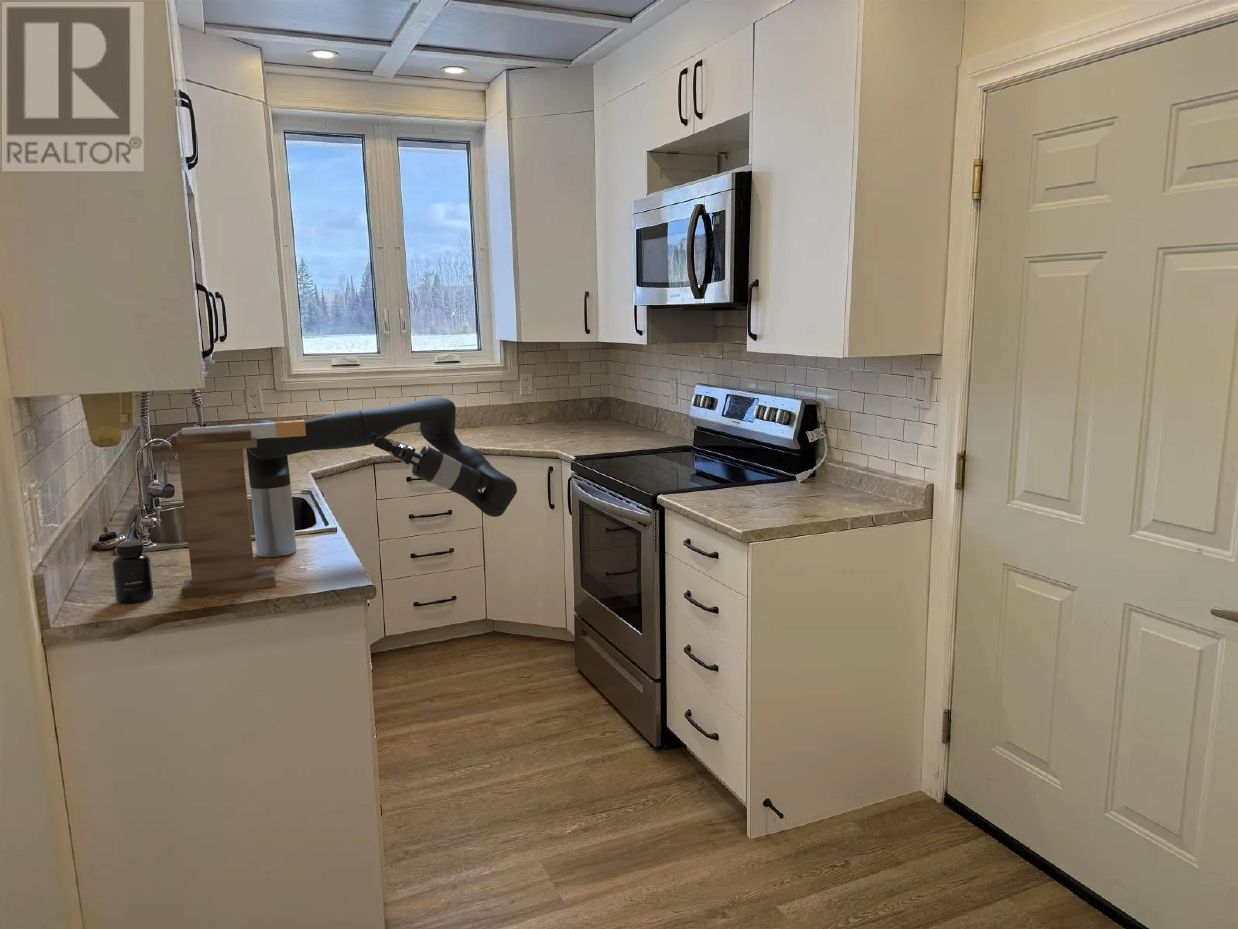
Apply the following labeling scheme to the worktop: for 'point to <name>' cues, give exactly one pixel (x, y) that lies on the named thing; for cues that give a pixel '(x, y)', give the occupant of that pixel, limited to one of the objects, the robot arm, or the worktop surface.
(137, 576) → the supplement bottle
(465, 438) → the worktop surface
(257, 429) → the grey and tan bar
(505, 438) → the worktop surface
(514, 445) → the worktop surface
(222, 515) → the post
